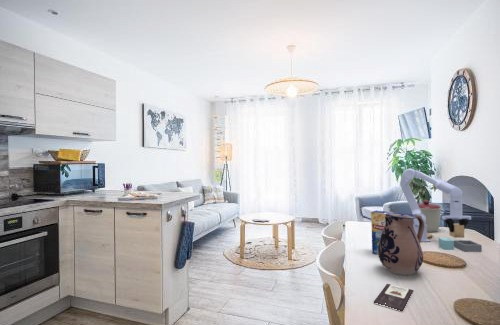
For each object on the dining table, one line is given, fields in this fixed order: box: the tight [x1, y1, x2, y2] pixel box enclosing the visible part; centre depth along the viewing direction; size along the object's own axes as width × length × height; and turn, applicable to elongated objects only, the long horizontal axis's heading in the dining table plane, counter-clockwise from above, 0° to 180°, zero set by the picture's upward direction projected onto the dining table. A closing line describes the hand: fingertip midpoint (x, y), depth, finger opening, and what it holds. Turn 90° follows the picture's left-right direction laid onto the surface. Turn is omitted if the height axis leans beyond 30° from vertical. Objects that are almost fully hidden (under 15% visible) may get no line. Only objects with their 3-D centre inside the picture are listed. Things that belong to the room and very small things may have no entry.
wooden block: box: [448, 222, 465, 239], centre depth 157 cm, size 5×5×7 cm
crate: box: [453, 239, 483, 253], centre depth 148 cm, size 9×9×4 cm
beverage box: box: [370, 210, 398, 255], centre depth 143 cm, size 7×11×22 cm, turn 45°
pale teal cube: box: [438, 237, 455, 251], centre depth 150 cm, size 5×5×5 cm
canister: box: [417, 199, 443, 233], centre depth 189 cm, size 18×18×21 cm
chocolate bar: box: [373, 283, 414, 312], centre depth 98 cm, size 9×1×18 cm
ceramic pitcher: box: [378, 212, 424, 276], centre depth 121 cm, size 18×21×25 cm
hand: (456, 231), depth 157 cm, fingers closed on wooden block, 5 cm apart
